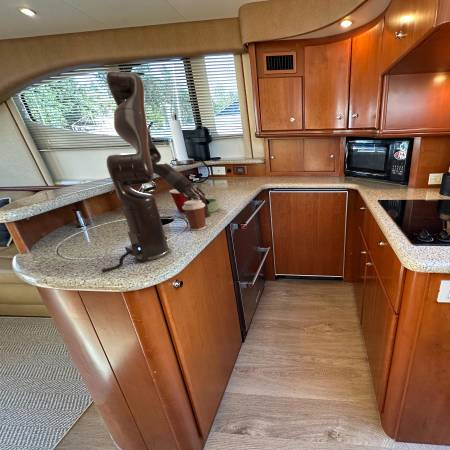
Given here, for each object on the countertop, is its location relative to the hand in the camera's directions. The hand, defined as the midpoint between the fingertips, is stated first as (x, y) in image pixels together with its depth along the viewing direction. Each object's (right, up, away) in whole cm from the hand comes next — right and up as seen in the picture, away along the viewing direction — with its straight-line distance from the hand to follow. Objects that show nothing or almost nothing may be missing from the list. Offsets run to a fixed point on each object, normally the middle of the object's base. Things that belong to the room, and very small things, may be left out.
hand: (207, 204), depth 119 cm
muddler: (-2, -6, +2) cm, 6 cm away
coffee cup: (+2, -12, -14) cm, 18 cm away
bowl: (-5, -3, +12) cm, 13 cm away
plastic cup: (-18, -2, +15) cm, 24 cm away
